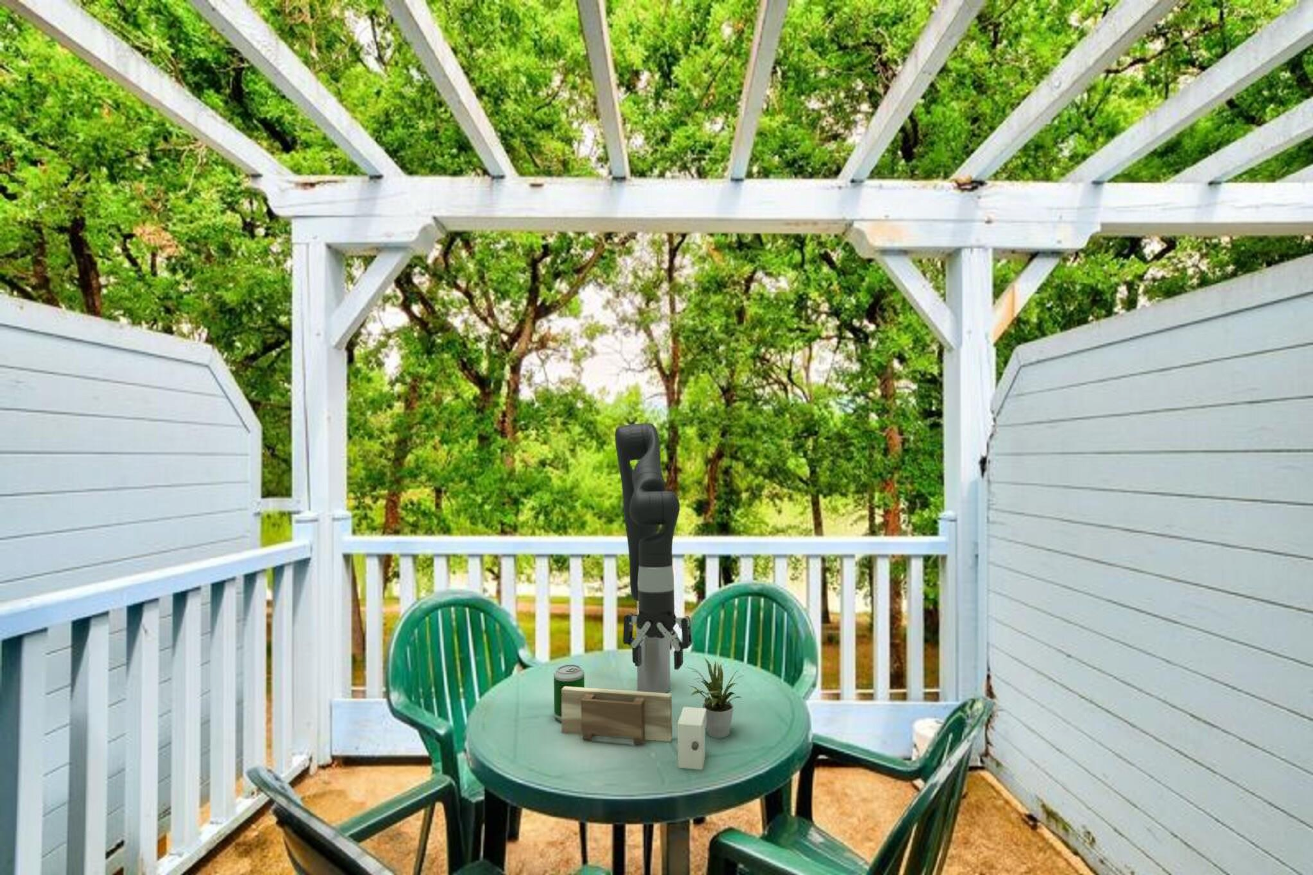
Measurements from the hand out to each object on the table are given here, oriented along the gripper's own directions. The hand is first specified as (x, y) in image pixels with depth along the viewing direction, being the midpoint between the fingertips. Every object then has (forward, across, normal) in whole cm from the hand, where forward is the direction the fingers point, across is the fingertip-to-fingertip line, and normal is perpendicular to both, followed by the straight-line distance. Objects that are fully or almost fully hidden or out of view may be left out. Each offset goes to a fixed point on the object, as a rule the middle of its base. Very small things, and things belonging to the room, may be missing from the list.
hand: (657, 666), depth 123 cm
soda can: (+20, +30, -18) cm, 40 cm away
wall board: (+20, +15, -11) cm, 28 cm away
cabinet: (+21, -5, -8) cm, 23 cm away
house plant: (+21, -6, -22) cm, 30 cm away
